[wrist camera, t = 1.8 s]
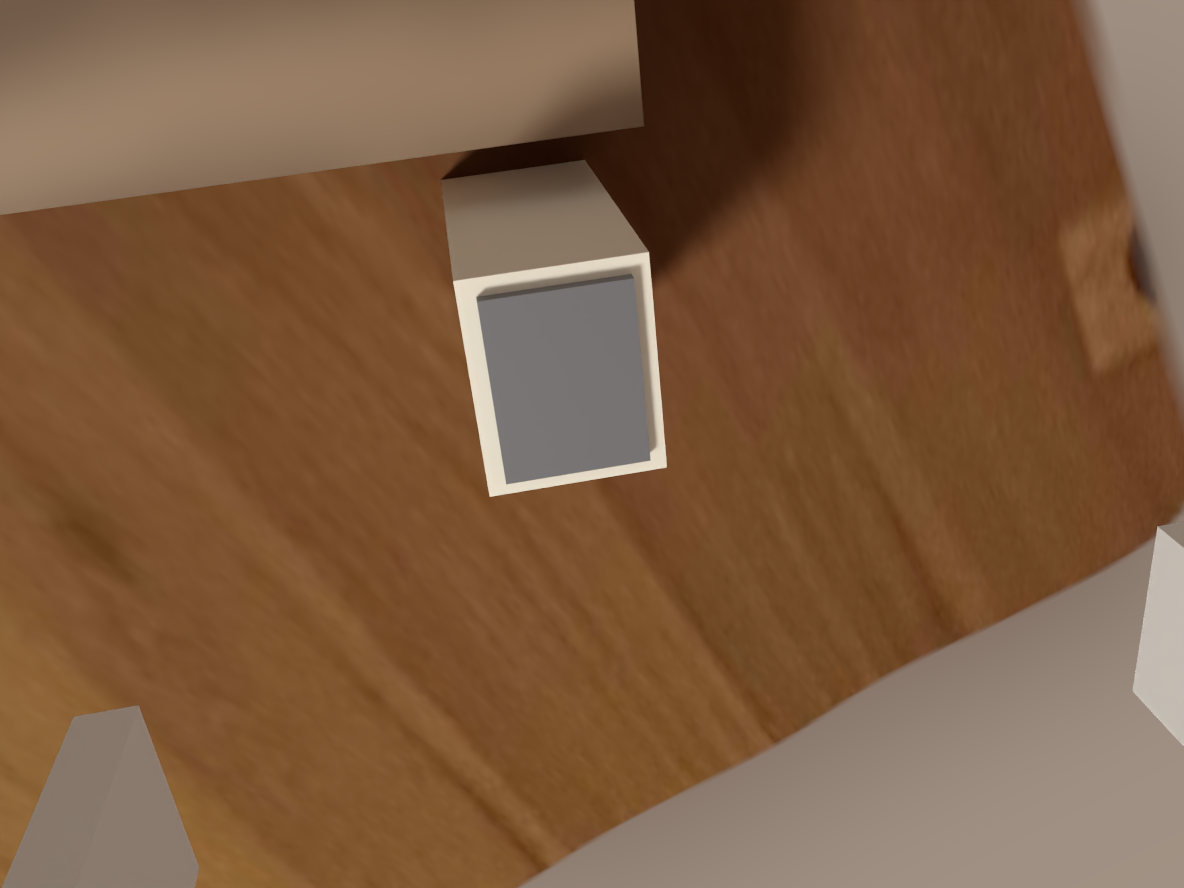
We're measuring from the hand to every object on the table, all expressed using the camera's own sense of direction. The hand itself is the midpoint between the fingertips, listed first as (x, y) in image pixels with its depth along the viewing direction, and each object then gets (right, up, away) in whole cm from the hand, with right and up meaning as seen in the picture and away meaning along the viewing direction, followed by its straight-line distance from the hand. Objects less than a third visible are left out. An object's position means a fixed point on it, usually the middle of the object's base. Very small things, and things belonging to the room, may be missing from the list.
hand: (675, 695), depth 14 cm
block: (-3, +9, +17) cm, 19 cm away
